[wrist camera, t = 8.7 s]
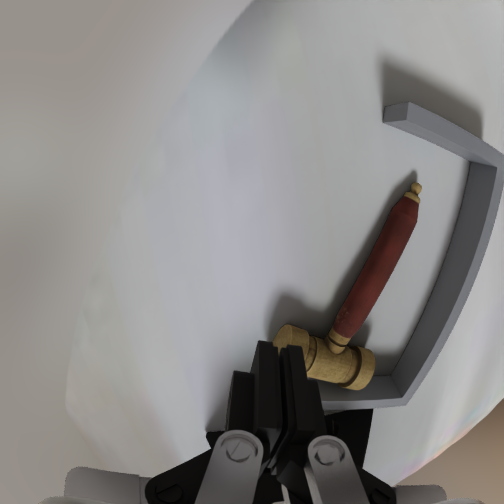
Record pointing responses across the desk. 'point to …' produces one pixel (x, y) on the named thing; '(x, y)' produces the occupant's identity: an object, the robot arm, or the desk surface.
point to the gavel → (357, 306)
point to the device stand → (338, 425)
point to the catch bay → (453, 270)
